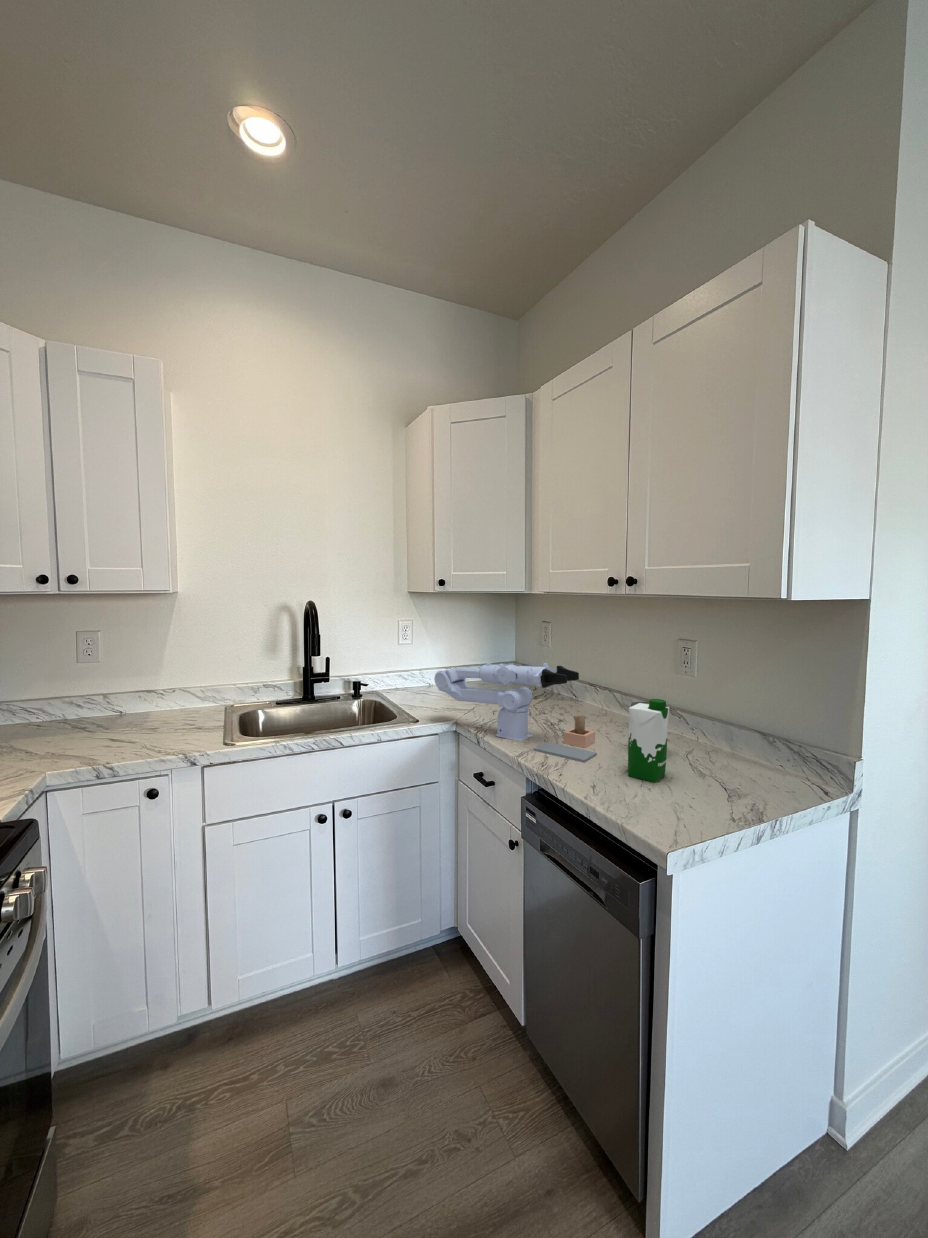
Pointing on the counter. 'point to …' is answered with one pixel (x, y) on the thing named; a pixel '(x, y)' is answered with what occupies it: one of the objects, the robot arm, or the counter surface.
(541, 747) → the board
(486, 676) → the robot arm
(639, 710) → the milk carton
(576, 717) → the peg
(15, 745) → the counter surface
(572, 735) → the square hollow frame
